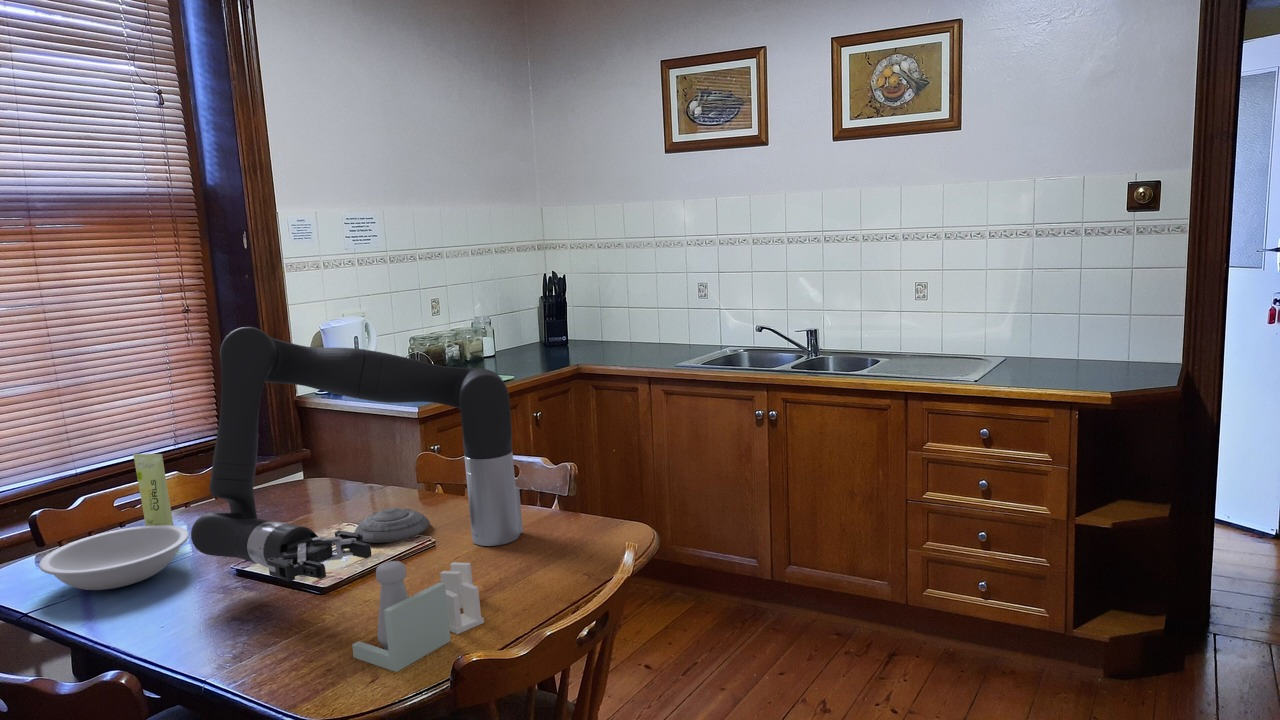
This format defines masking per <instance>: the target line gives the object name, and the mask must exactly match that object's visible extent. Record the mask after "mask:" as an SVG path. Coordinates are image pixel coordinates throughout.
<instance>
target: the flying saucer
mask: <svg viewBox="0 0 1280 720" xmlns="http://www.w3.org/2000/svg"><path fill="white" fill-rule="evenodd" d="M430 522H431V521H429V519H428V517H426V516H425V515H424V514H423V513H421V512H420V511H419V512H418V511H417V510H413V509H411V508H410V509H409V508H399V507H389V508H384V509H382V510H380V511H377V512H374V513H372V514H370V515H369V516H367V517H365V518H364V519H363V520H362V521H361V522H359V524H358V525H357V527H356V528H355V530H354V532H353V533H359V534H363V542H365V543H374V544H376V543H380V544H381V543H391V542H397V541H403V540H407V539H410V538H412V537H416V536H417V535H419V534H421V533H423V532H424V531H426V530H427V529H428V528H429V527H430V525H431V523H430Z"/></svg>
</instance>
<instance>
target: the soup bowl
mask: <svg viewBox="0 0 1280 720" xmlns="http://www.w3.org/2000/svg"><path fill="white" fill-rule="evenodd" d="M189 537H190V532H189V531H188V529H186V528H184V527H181V526H178V525H177V526H176V525H174V526H170V525H151V526H146V525H142V526H141V525H140V526H139V525H138V526H133V527H127V528H126V527H125V528H120V529H115V530H111V531H106V532H102V533H98V534H93V535H91V536H87V537H84V538H80V539H78V540H75V541H73V542H70V543H67V544H65V545H62V546H60V547H59V548H56V549H54V550H52V551H50V552H49V553H47V554H46V555H45V556H43V557H42V559H41V560H40V561H39V564H38V568H39V570H40V571H42V572H43V573H45V574H48V575H53V576H54V577H55V578H56V579H58V580H59V581H60V582H62V583H64V584H65V585H67V586H69V587H72V588H76V589H79V590H85V591H88V590H89V591H102V590H103V591H104V590H112V589H118V588H123V587H127V586H129V585H133V584H136V583H139V582H142V581H144V580H146V579H149V578H151V577H153V576H154V575H156V574H158V573H160V572H161V571H162V570H164V569H165V568H166V567H167V566H168V565H169V564H171V562H172V561H173V560H174V558H175V557H176V555H177V554H178V551H179V549H180V547H181V546H183V545H184V544H185V543H187V541H188V539H189Z"/></svg>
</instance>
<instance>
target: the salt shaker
mask: <svg viewBox="0 0 1280 720" xmlns="http://www.w3.org/2000/svg"><path fill="white" fill-rule="evenodd" d="M406 577H407V566H406V564H405V563H403V562H401V561H399V560H390V561H387V562H384V563H381V564H379V565H378V566H377V567H376V569H375V578H376V582H377V583H379V584H380V594H379V596H380V597H379V608H378V620H377V621H378V623H377V635H376V637H377V642H378V643H379V644H380V645H381V647H382V649H384V650H387V651H388V643H387V634H386V625H385V616H384V609H386V608H388V607H390V606H392V605H395V604H397V603H399V602H401V601H403V600H405V599H407V598H409V595H408V592H407V591H408V590H407V587H406V584H405V582H404V580H405V579H406Z"/></svg>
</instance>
